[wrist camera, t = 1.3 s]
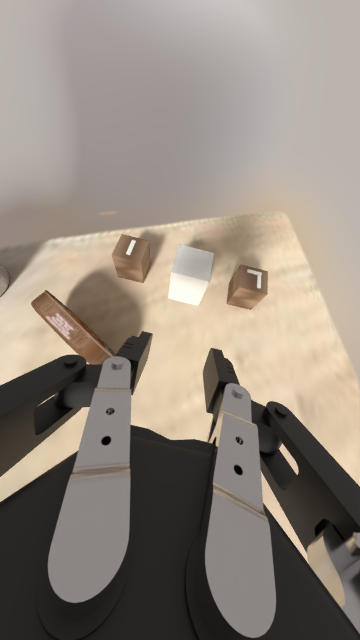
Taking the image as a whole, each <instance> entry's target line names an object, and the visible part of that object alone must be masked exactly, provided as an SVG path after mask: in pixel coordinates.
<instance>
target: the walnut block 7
mask: <svg viewBox="0 0 360 640" xmlns="http://www.w3.org/2000/svg"><path fill="white" fill-rule="evenodd" d="M267 283H268V271H264V270H260V269H256V268H252V267H248V266H244V265H241V266H240V267H239V269H238V270H237V272H236V274H235V275H234V277H233V278H232V280H231V281H230V283H229V288H228V297H227V304H229V305H233V306H237V307H241V308H245V309H249V310H251V309H252V308H253V307H254V306H255V305H257V304H258V303H259V302H260V301H261V300H262V299H263V298H264V297H265V296H266V295H267Z"/></svg>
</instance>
